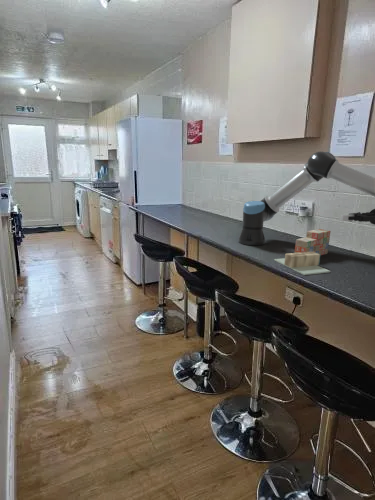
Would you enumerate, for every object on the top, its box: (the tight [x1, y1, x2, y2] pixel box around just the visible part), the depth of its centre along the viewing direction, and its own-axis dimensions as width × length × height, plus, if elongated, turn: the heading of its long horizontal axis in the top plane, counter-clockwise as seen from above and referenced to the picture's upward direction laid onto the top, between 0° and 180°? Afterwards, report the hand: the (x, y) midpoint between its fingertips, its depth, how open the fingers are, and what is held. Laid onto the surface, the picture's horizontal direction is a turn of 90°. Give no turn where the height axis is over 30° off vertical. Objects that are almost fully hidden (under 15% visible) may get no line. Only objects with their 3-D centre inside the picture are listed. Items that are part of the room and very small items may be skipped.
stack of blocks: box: [293, 228, 331, 256], centre depth 165 cm, size 21×6×12 cm, turn 129°
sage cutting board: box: [273, 257, 331, 276], centre depth 148 cm, size 22×14×1 cm, turn 19°
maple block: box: [284, 252, 322, 269], centre depth 148 cm, size 5×5×15 cm
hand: (341, 218), depth 149 cm, fingers closed
